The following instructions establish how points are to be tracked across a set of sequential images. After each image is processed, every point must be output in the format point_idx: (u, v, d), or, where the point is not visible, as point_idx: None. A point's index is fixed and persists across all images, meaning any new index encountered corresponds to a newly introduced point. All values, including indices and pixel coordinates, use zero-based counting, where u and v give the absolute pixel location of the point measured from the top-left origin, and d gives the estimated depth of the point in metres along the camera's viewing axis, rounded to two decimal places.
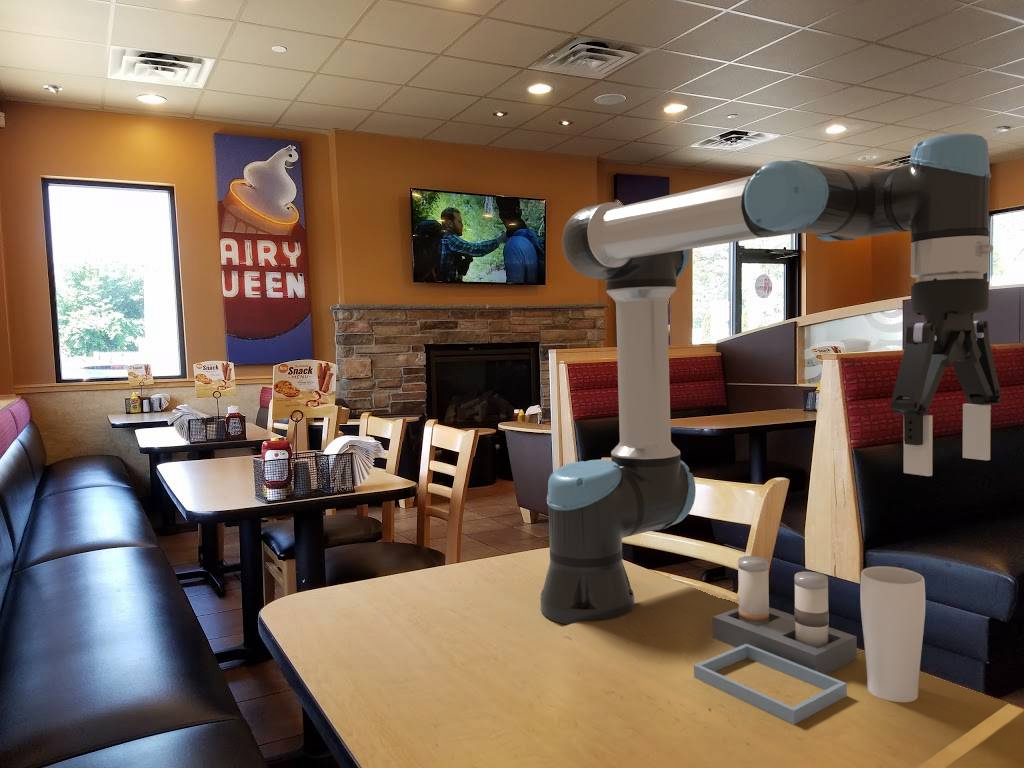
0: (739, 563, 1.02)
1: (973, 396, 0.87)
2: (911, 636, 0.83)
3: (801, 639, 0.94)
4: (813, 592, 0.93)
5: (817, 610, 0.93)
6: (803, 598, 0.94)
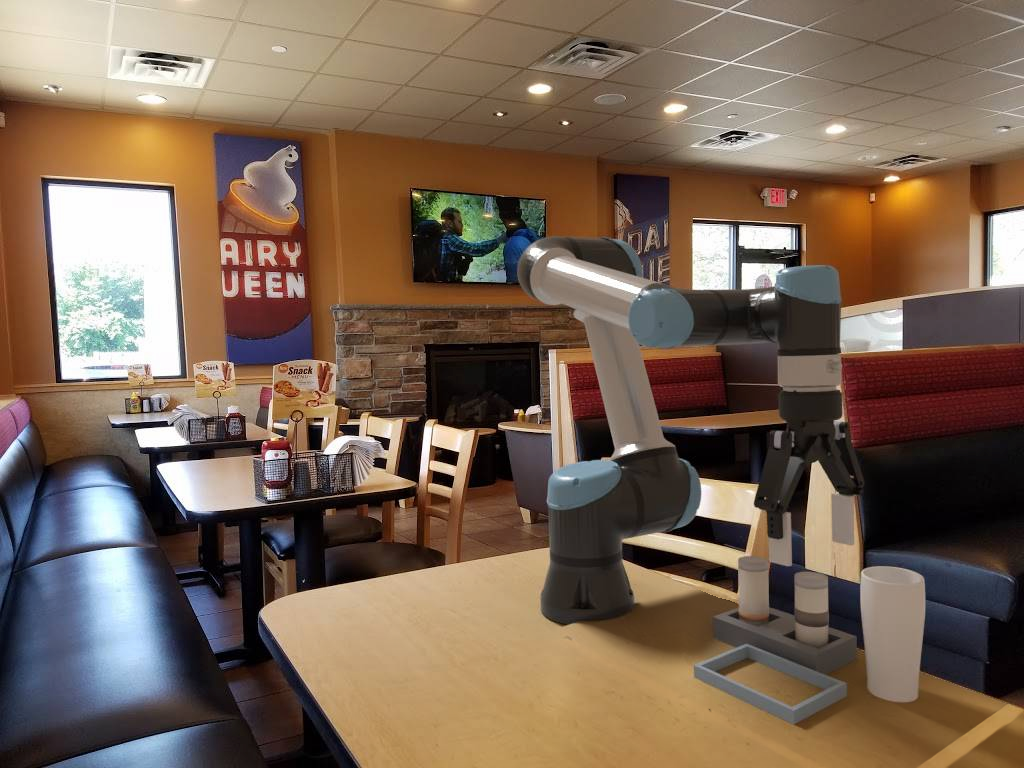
0: (739, 563, 1.02)
1: (840, 487, 0.98)
2: (911, 636, 0.83)
3: (801, 639, 0.94)
4: (813, 593, 0.93)
5: (817, 610, 0.93)
6: (803, 598, 0.93)
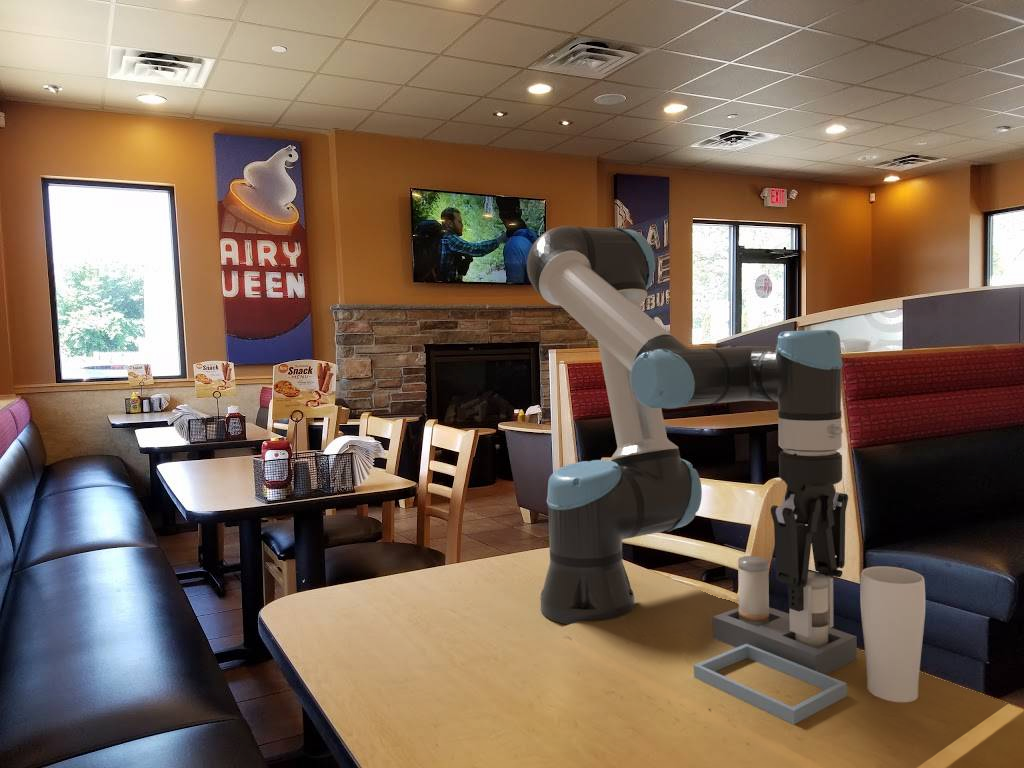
0: (739, 563, 1.02)
1: (819, 567, 0.97)
2: (911, 636, 0.83)
3: (801, 639, 0.94)
4: (813, 592, 0.93)
5: (817, 610, 0.93)
6: None
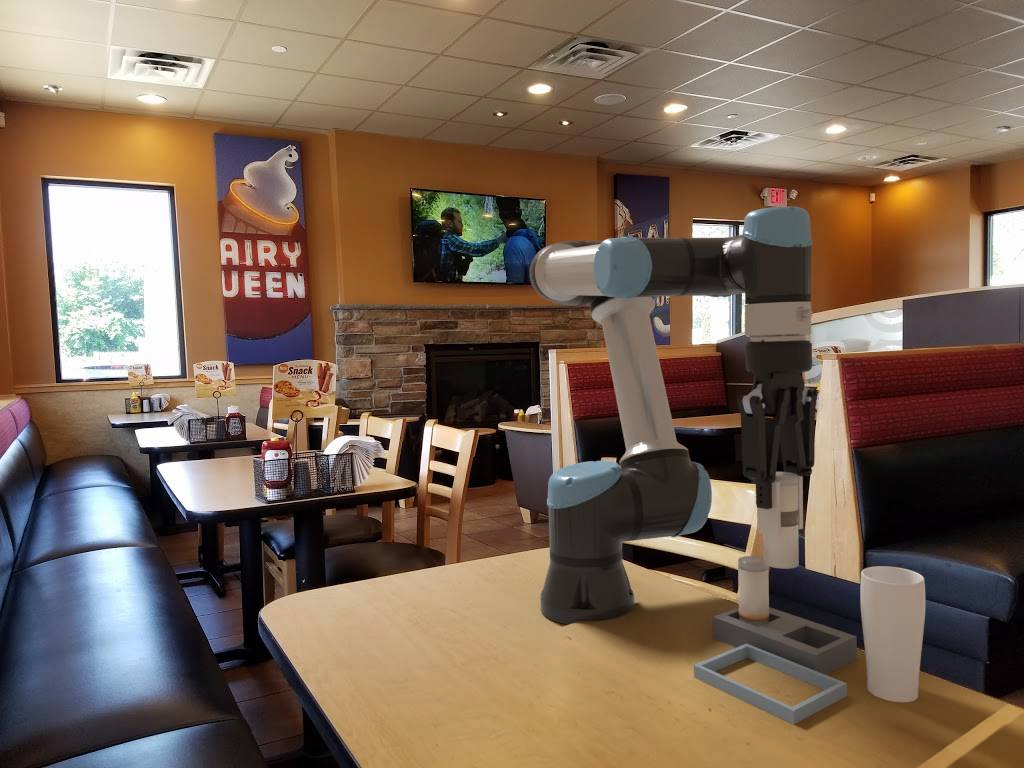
0: (739, 563, 1.02)
1: (788, 466, 0.91)
2: (911, 636, 0.83)
3: (770, 541, 0.88)
4: (783, 490, 0.87)
5: (786, 508, 0.87)
6: None
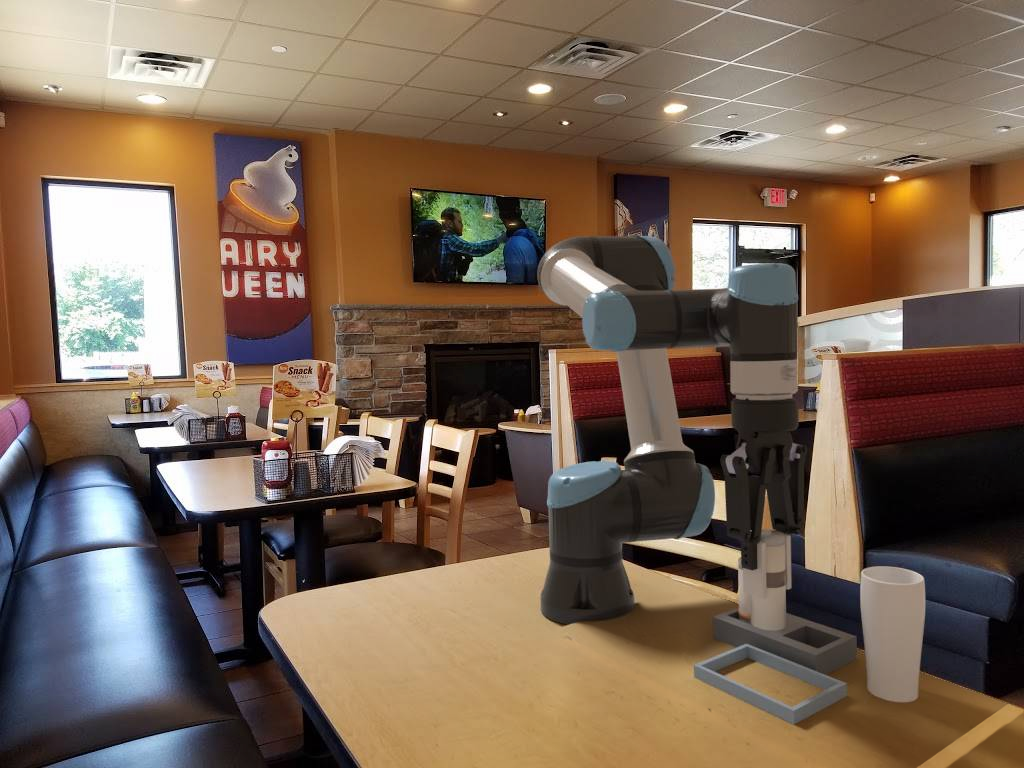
0: (739, 563, 1.02)
1: (776, 524, 0.89)
2: (911, 636, 0.83)
3: (756, 602, 0.87)
4: (768, 550, 0.85)
5: (772, 569, 0.85)
6: None
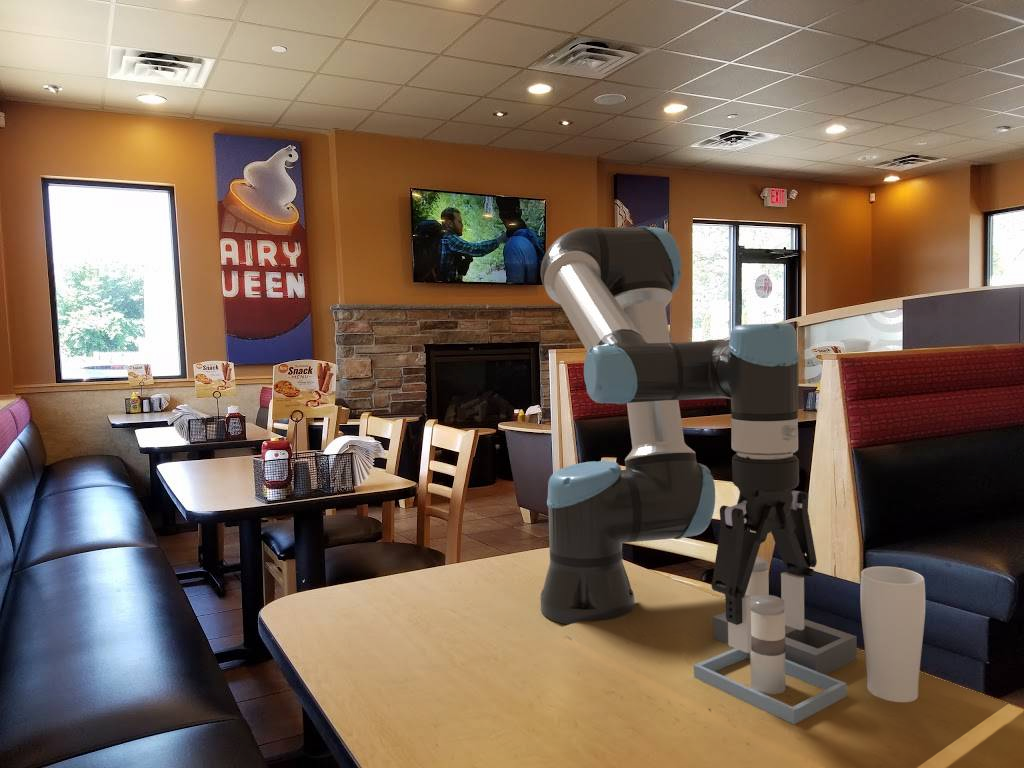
0: None
1: (790, 566, 0.91)
2: (911, 636, 0.83)
3: (756, 669, 0.87)
4: (768, 619, 0.86)
5: (772, 637, 0.86)
6: (757, 625, 0.87)
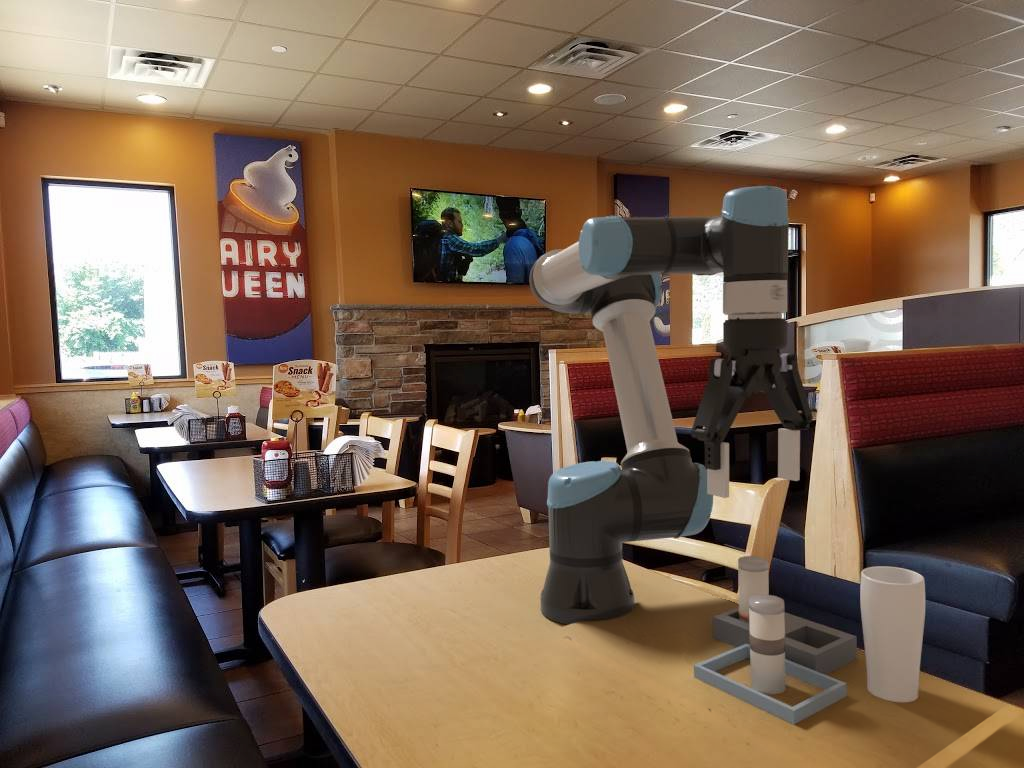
0: (739, 563, 1.02)
1: (787, 421, 0.95)
2: (911, 636, 0.83)
3: (756, 668, 0.87)
4: (768, 618, 0.86)
5: (772, 637, 0.86)
6: (757, 624, 0.87)
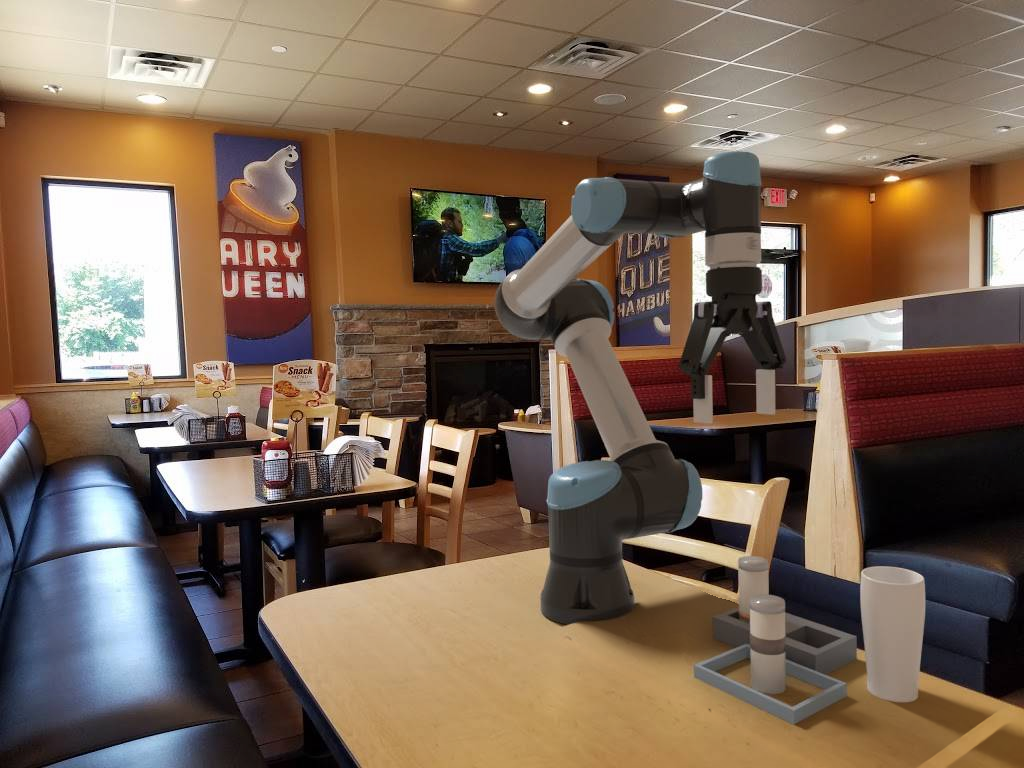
0: (739, 563, 1.02)
1: (763, 363, 1.07)
2: (911, 636, 0.83)
3: (756, 668, 0.87)
4: (769, 618, 0.86)
5: (773, 637, 0.86)
6: (758, 624, 0.87)
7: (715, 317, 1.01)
